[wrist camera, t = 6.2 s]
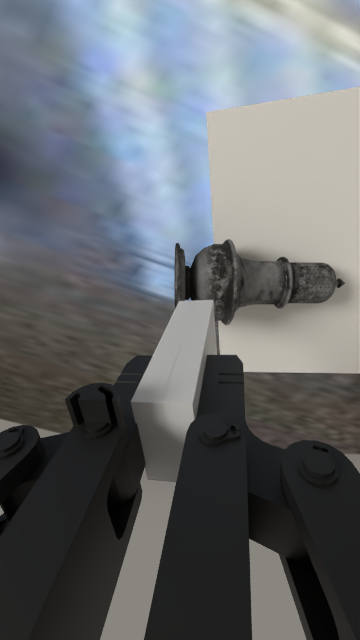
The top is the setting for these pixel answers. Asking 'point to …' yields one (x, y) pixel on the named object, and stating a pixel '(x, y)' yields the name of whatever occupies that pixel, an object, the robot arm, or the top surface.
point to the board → (292, 223)
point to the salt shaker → (249, 280)
